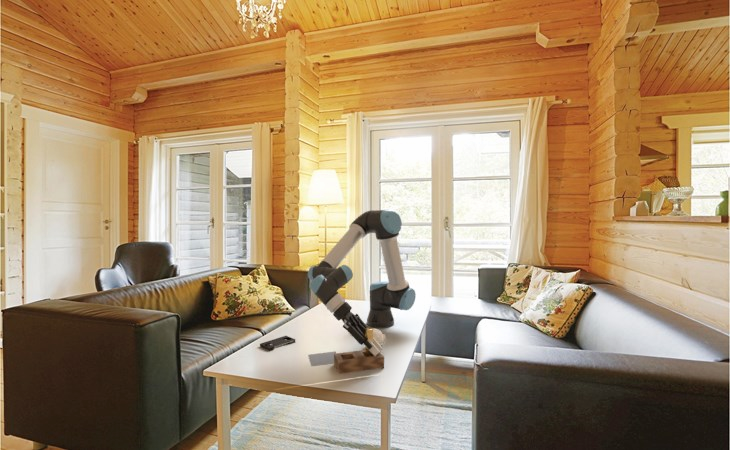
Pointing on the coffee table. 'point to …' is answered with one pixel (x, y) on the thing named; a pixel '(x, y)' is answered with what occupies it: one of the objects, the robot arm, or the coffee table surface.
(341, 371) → the walnut hole block
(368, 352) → the brass peg
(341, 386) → the coffee table surface
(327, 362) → the slate rubber mat
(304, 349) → the coffee table surface
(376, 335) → the beige faceted ovoid
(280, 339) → the vhs tape
